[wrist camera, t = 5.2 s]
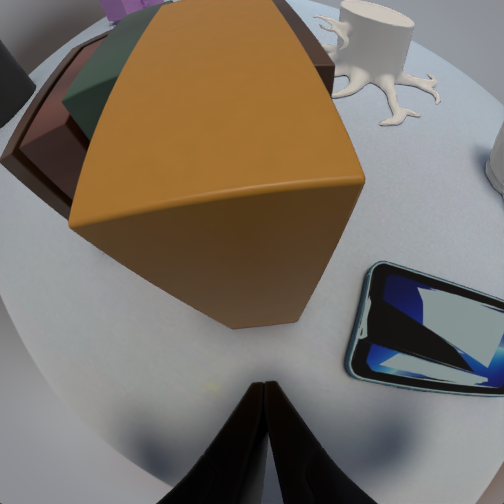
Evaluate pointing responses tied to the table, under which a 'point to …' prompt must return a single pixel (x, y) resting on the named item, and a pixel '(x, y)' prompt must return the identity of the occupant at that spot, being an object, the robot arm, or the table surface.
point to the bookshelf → (96, 105)
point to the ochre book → (220, 164)
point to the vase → (12, 86)
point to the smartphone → (427, 334)
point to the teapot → (125, 7)
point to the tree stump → (374, 52)
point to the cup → (497, 163)
